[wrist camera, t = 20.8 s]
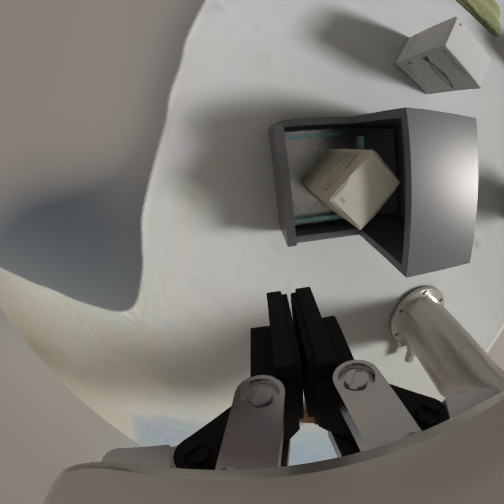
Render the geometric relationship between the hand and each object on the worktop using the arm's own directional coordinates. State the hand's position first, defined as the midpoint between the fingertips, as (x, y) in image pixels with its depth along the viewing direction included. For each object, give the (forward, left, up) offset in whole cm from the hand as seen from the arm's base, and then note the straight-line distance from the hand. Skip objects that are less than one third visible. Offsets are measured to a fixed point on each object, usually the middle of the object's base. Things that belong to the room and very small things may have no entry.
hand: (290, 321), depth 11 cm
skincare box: (+2, -9, -25) cm, 27 cm away
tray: (+2, -11, -27) cm, 30 cm away
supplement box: (+19, -27, -28) cm, 43 cm away
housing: (+2, -11, -27) cm, 30 cm away
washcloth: (+41, -50, -28) cm, 70 cm away
